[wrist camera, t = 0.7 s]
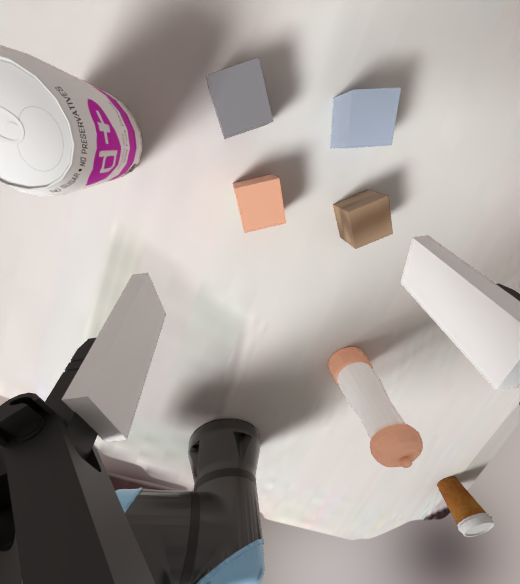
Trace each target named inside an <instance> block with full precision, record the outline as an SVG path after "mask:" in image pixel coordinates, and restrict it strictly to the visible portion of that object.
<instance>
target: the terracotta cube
mask: <svg viewBox="0 0 520 584" xmlns="http://www.w3.org/2000/svg"><path fill="white" fill-rule="evenodd" d="M233 187H234V191H235V196H236V200H237V204H238V208H239V213H240V217H241V221H242V225H243V228H244V232H245V233H246V232H251V231H255V230H259V229H263V228H267V227H272V226H276V225H280V224H284V223H286V219H285V213H284V206H283V199H282V192H281V186H280V179H279V178H278V177H276V176H274V175H272V174H270V175H266V176H261V177H257V178H253V179H249V180H244V181H240V182H236V183H233Z"/></svg>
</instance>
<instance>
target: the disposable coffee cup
mask: <svg viewBox="0 0 520 584" xmlns="http://www.w3.org/2000/svg"><path fill="white" fill-rule="evenodd" d="M437 486H438V488H439V490H440V492H441V494H442V496H443V498H444V500H445V502H446V504H447V506H448V508H449V510H450V511H451V513H452V515H453V517H454V519H455V521H456V523H457V525H458V529H459V531H460V532H462V533H463V535H464V536H465V537H473V536H477V535H480V534H483V533H485V532H487V531H488V530H490V529H491V528H493V527H494V523H493V521H492V517H491V516H489V515H488V514H487V513H486V512H485V511H484V510H483V509H482V508H481V506H480V505H479V504H478V503H477V502H476V501H475V499H474V498H473V497H472V496H471V495H470V494H469V492H468V491H467V490H466V489H465V488H464V487H463V485H462V484H461V483H460V482H459V481H458V480H457V478H456V477H448V478H445V479H443V480H441V481H440V482H439V483H438V484H437Z"/></svg>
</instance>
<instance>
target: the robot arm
mask: <svg viewBox="0 0 520 584" xmlns="http://www.w3.org/2000/svg"><path fill="white" fill-rule="evenodd" d="M401 284H402V285H403V287H404V288H405V289H406V290H407V291H408V292H409V293H410V294H411V296H412V297H413V298H414V299H415V300H416V301H417V302H418V303H419V304H420V306H421V307H422V308H423V309H424V310H425V311H426V312H427V313H428V315H429V316H430V317H431V318H432V319H433V320H434V321H435V322H436V324H437V325H438V326H439V327H440V328H441V329H442V330H443V331H444V333H445V334H446V335H447V336H448V337H449V338H450V339H451V340H452V342H453V343H454V344H455V345H456V346H457V347H458V348H459V349H460V351H461V352H462V353H463V354H464V355H465V356H466V357H467V358H468V360H469V361H470V362H471V363H472V364H473V365H474V366H475V367H476V369H477V370H478V371H479V372H480V373H481V374H482V375H483V376H484V378H485V379H486V380H487V381H488V382H489V383H490V384H491V385H492V387H493V388H494V389H495V390H503V389H510V388H518V386H519V385H520V294H519V293H518V292H516V291H515V290H512V289H510V288H508V287H505V286H503V285H501V284H495V283H494V282H492V281H491V280H489V279H488V278H487V277H485V276H484V275H482V274H481V273H480V272H478V271H477V270H475V269H474V268H473V267H471V266H470V265H469V264H467V263H466V262H464V261H463V260H462V259H460V258H459V257H457V256H456V255H455V254H453V253H452V252H450V251H449V250H448V249H446V248H445V247H443V246H442V245H441V244H439V243H438V242H436V241H435V240H434V239H432V238H431V237H430V236H420V237H413V238H412V242H411V246H410V249H409V253H408V257H407V260H406V264H405V268H404V272H403V275H402V279H401ZM165 316H166V313H165V311H164V309H163V306H162V304H161V302H160V299H159V297H158V295H157V292H156V290H155V288H154V286H153V283H152V281H151V279H150V276H149V274H148V273H142V274H135V275H132V277H131V278H130V280H129V282H128V284H127V285H126V287H125V289H124V291H123V292H122V294H121V296H120V298H119V299H118V301H117V303H116V305H115V306H114V308H113V310H112V312H111V314H110V315H109V317H108V319H107V321H106V322H105V324H104V326H103V328H102V329H101V331H100V333H99V335H98V336H97V338H91V339H88V340H87V341H86V342H85V343H84V344H83V345H82V346H81V347H79V348H78V349H77V351H76V353H75V354H74V356H73V358H72V359H71V363H69V364H68V366H67V367H66V369H65V372H63V374H62V375H61V377H60V379H59V380H58V382H57V383H56V385H55V387H54V388H53V390H52V391H51V393H50V395H49V396H48V398H47V400H46V401H45V402H44V401H43V400H42V399H41V398H40V397H39V396H37V395H36V394H33V393H25V394H21V395H18V396H16V397H14V398H11V399H9V400H8V401H6V402H5V403H3V404H2V405H1V406H0V584H21V583H22V581H23V584H260V582H261V580H262V578H263V575H264V552H263V544H264V540H263V538H262V529H261V521H260V512H259V504H258V495H257V487H256V477H255V475H256V469H257V463H258V457H259V452H260V440H259V434H258V431H257V430H256V428H255V427H254V426H252V425H251V424H249V423H247V422H245V421H241V420H235V419H223V420H217V421H213V422H210V423H207V424H205V425H203V426H201V427H200V428H198V429H197V430H196V431H195V432H194V433H193V434H192V436H191V438H190V441H189V450H188V455H189V460H190V465H191V469H192V473H193V478H194V483H195V484H194V492H189V491H168V490H150V489H143V488H139V489H120V490H117V491H115V490H114V487H113V485H112V483H111V481H110V478H109V476H108V474H107V471H106V469H105V467H104V464H103V462H102V460H101V458H100V455H99V453H98V451H97V449H96V448H95V447H94V446H93V444H94V442H95V439H96V437H97V435H98V436H100V437H101V438H102V439H103V440H104V441H105V442H111V441H118V440H126V439H127V437H128V434H129V431H130V428H131V425H132V421H133V418H134V415H135V412H136V409H137V405H138V402H139V399H140V396H141V393H142V389H143V386H144V383H145V380H146V377H147V373H148V370H149V367H150V364H151V361H152V357H153V354H154V351H155V348H156V345H157V341H158V338H159V335H160V332H161V329H162V325H163V322H164V319H165ZM519 404H520V403H519Z"/></svg>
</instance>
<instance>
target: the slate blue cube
mask: <svg viewBox="0 0 520 584" xmlns="http://www.w3.org/2000/svg"><path fill="white" fill-rule="evenodd" d="M400 92H401V87H397V88H376V89H355V90H351V91H348V92H346V93H344V94H342V95H339V96H337V97H335V98H334V100H333V116H332V131H331V146H330V148H357V147H372V146H387V145H392V140H393V134H394V128H395V122H396V116H397V110H398V104H399V98H400Z"/></svg>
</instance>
